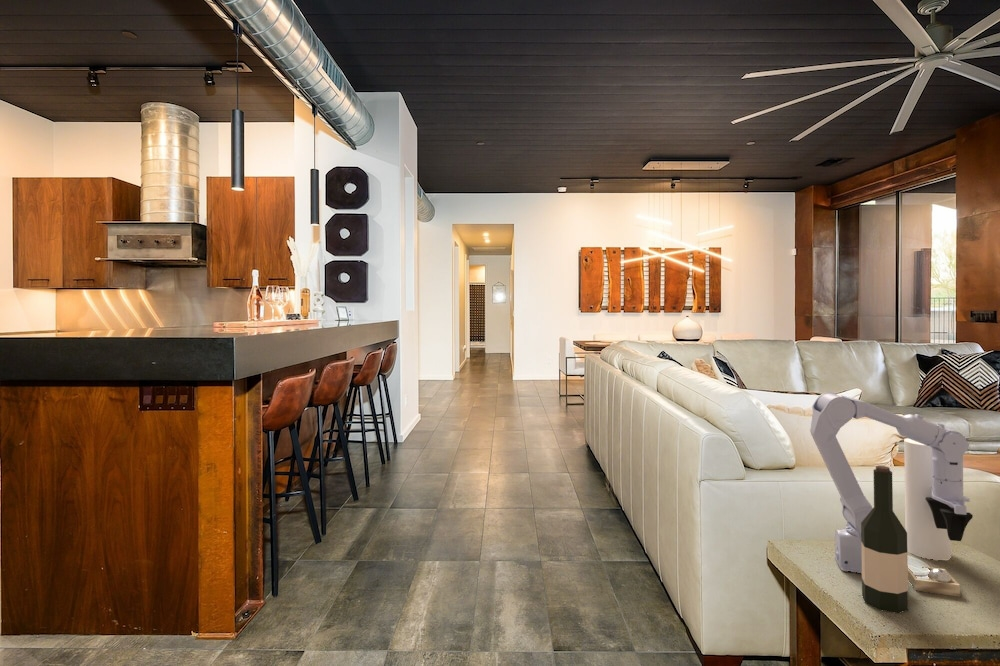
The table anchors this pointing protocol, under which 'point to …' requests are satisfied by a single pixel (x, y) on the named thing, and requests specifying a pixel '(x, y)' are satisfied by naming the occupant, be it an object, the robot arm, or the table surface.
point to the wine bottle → (884, 550)
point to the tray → (934, 585)
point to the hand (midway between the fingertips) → (948, 534)
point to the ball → (939, 575)
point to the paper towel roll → (921, 505)
